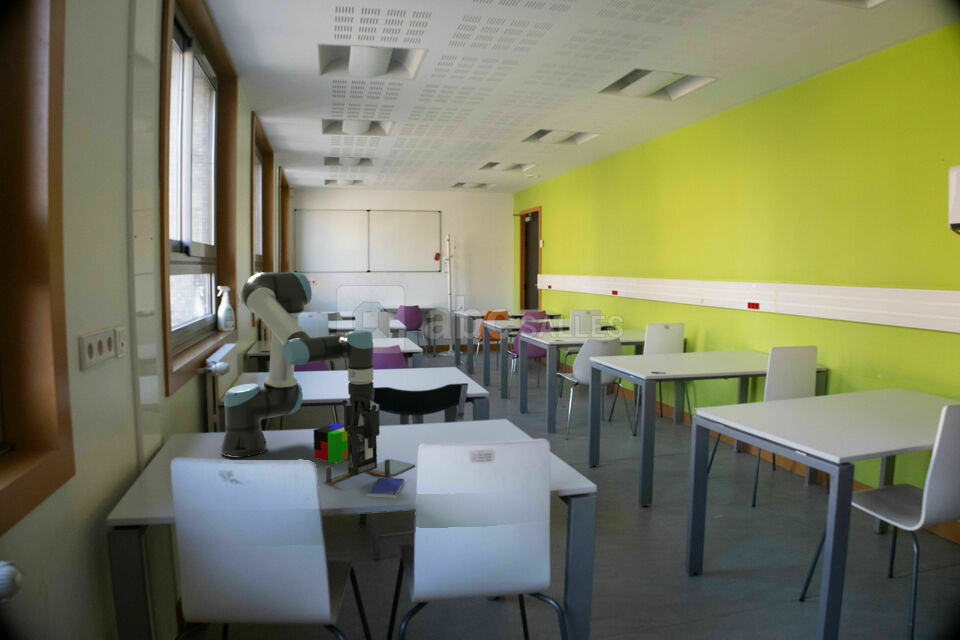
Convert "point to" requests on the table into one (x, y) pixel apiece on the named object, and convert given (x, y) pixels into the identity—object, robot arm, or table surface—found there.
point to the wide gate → (336, 479)
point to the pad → (394, 467)
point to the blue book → (386, 487)
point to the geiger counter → (359, 451)
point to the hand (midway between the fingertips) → (362, 456)
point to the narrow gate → (382, 474)
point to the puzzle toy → (331, 443)
